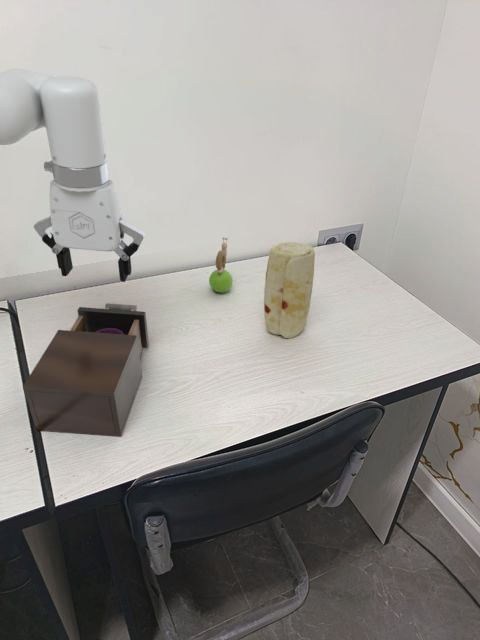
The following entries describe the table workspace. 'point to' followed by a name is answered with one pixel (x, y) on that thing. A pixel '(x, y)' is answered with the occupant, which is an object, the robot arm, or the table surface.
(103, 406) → the dark wooden cabinet
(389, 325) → the table surface
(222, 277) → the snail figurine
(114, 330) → the bowl
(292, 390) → the table surface
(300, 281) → the food model
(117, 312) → the drawer
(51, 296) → the table surface
